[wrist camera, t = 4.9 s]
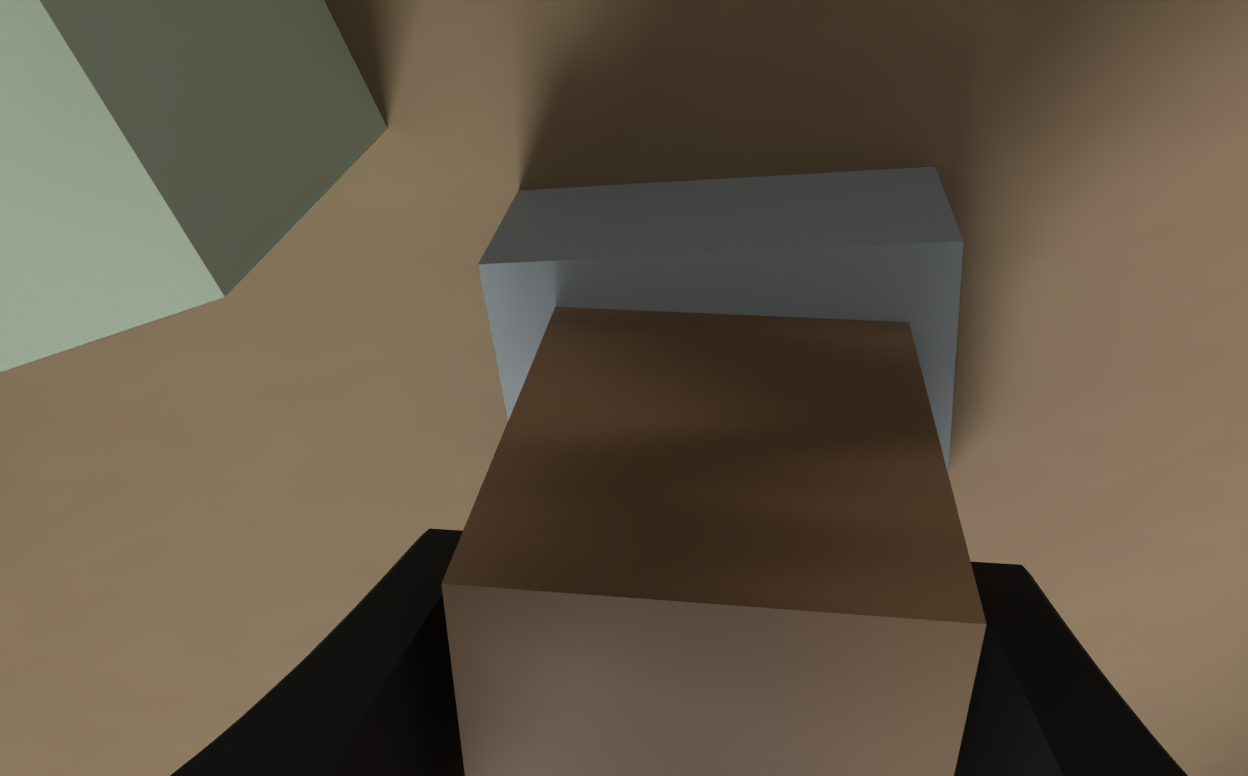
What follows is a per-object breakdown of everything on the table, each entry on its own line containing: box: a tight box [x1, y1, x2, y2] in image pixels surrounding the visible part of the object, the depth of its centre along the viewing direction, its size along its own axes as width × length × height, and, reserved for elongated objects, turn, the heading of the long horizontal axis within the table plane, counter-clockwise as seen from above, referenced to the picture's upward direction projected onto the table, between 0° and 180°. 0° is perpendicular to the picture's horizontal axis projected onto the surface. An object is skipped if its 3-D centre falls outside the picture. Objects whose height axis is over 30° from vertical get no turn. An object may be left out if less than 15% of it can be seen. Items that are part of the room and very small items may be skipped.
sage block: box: [0, 0, 388, 372], centre depth 13 cm, size 4×4×6 cm
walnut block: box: [442, 307, 987, 776], centre depth 12 cm, size 4×4×6 cm
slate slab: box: [478, 166, 964, 472], centre depth 16 cm, size 6×6×3 cm
